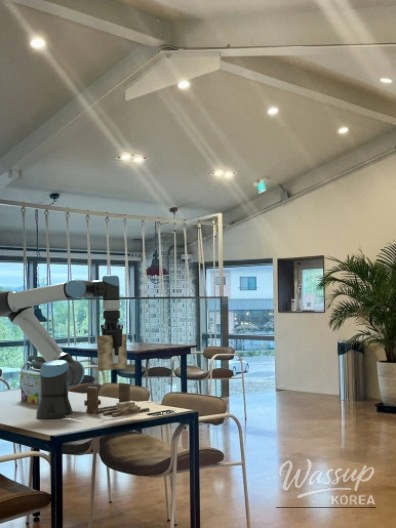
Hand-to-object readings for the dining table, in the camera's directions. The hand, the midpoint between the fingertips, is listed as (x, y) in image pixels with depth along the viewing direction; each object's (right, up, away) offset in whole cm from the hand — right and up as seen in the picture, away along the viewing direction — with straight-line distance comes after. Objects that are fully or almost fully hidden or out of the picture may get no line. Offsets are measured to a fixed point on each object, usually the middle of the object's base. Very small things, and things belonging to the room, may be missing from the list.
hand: (112, 362), depth 291 cm
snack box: (-44, -25, +35) cm, 62 cm away
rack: (+3, -21, -5) cm, 22 cm away
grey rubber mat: (+20, -21, -3) cm, 29 cm away
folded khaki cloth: (0, -3, 0) cm, 3 cm away
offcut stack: (+7, -21, -9) cm, 24 cm away
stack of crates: (-13, -24, +20) cm, 34 cm away
